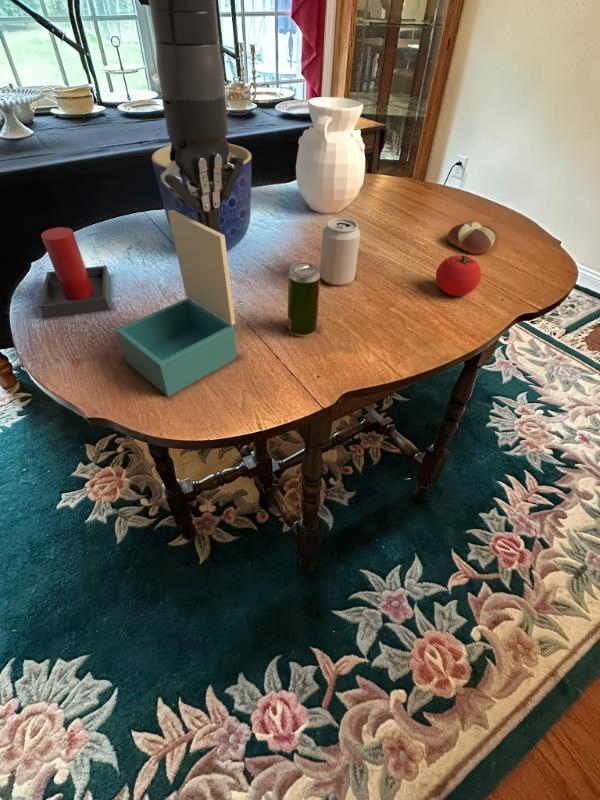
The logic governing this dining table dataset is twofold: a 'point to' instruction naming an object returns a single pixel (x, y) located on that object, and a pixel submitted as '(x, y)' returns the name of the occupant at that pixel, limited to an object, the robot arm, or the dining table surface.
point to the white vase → (331, 155)
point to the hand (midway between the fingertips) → (210, 233)
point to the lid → (203, 265)
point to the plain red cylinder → (67, 263)
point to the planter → (230, 212)
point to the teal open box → (177, 345)
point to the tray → (61, 306)
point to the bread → (473, 237)
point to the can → (339, 251)
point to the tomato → (458, 275)
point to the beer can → (303, 298)
